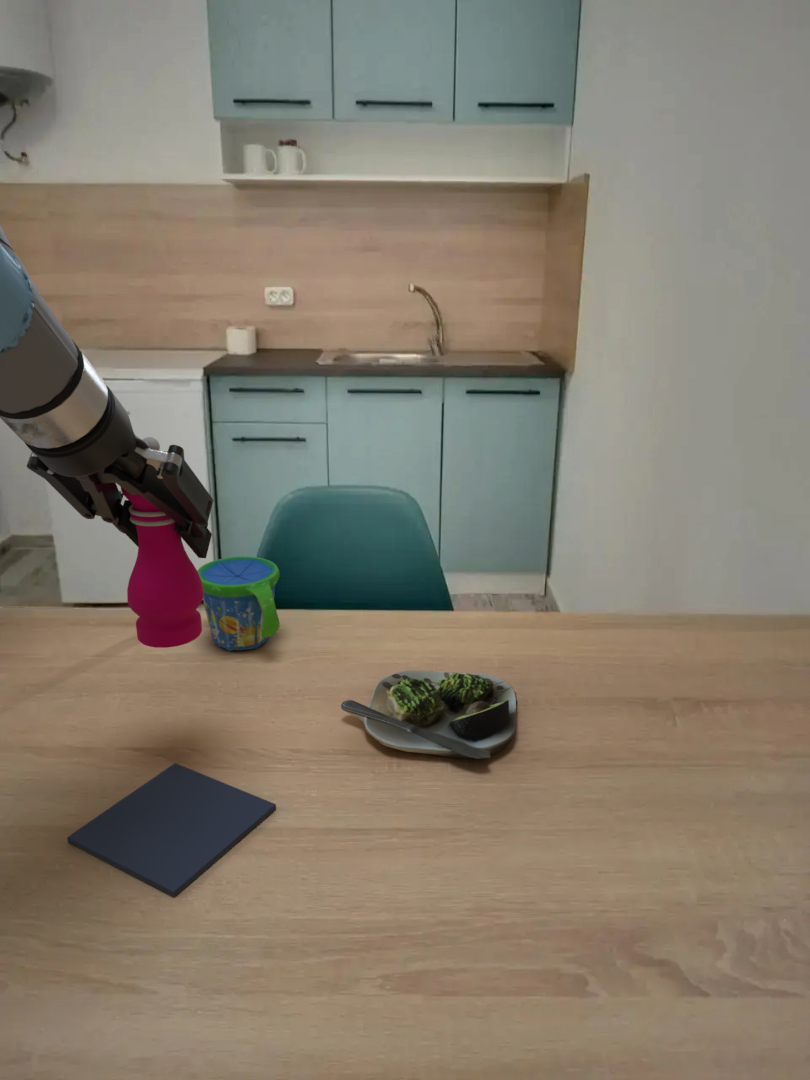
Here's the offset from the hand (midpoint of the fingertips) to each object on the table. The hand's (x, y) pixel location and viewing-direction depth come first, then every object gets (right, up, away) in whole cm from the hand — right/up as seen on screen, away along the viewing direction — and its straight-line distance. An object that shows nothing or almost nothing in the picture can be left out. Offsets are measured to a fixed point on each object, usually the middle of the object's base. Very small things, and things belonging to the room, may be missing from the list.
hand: (178, 544), depth 83 cm
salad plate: (+27, -20, +8) cm, 35 cm away
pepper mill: (-1, -9, -1) cm, 9 cm away
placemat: (+2, -26, -8) cm, 27 cm away
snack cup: (+1, -13, +28) cm, 31 cm away
